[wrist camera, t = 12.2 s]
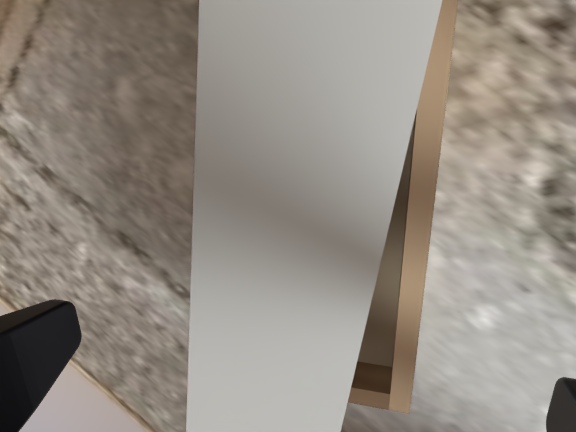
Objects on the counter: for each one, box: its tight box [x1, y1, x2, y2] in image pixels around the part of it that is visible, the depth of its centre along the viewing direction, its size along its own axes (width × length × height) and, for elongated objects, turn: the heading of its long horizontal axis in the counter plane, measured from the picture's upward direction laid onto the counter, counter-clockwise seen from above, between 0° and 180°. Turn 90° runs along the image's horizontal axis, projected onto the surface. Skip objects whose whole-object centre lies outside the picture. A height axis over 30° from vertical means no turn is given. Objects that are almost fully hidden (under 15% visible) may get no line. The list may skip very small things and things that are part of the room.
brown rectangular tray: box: [348, 0, 458, 414], centre depth 16 cm, size 17×7×2 cm, turn 1°
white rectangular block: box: [186, 0, 442, 432], centre depth 12 cm, size 14×4×6 cm, turn 173°
